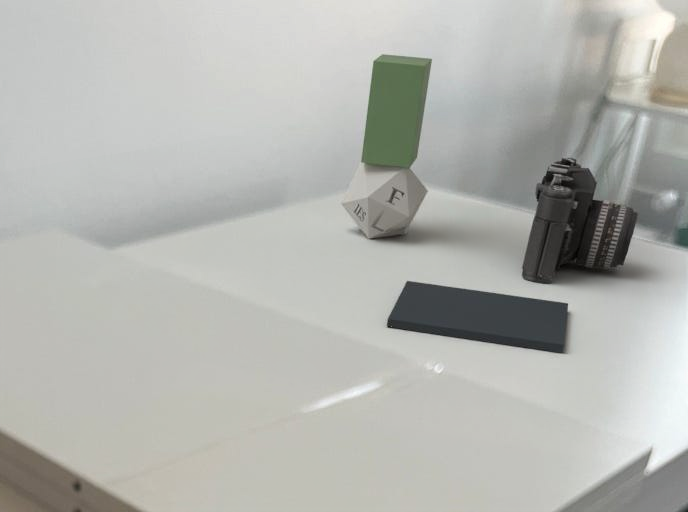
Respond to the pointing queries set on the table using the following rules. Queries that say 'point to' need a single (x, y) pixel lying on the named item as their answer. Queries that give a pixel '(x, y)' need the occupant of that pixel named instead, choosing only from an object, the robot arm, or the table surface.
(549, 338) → the mat
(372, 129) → the green block
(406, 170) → the die
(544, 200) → the camera
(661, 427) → the table surface
